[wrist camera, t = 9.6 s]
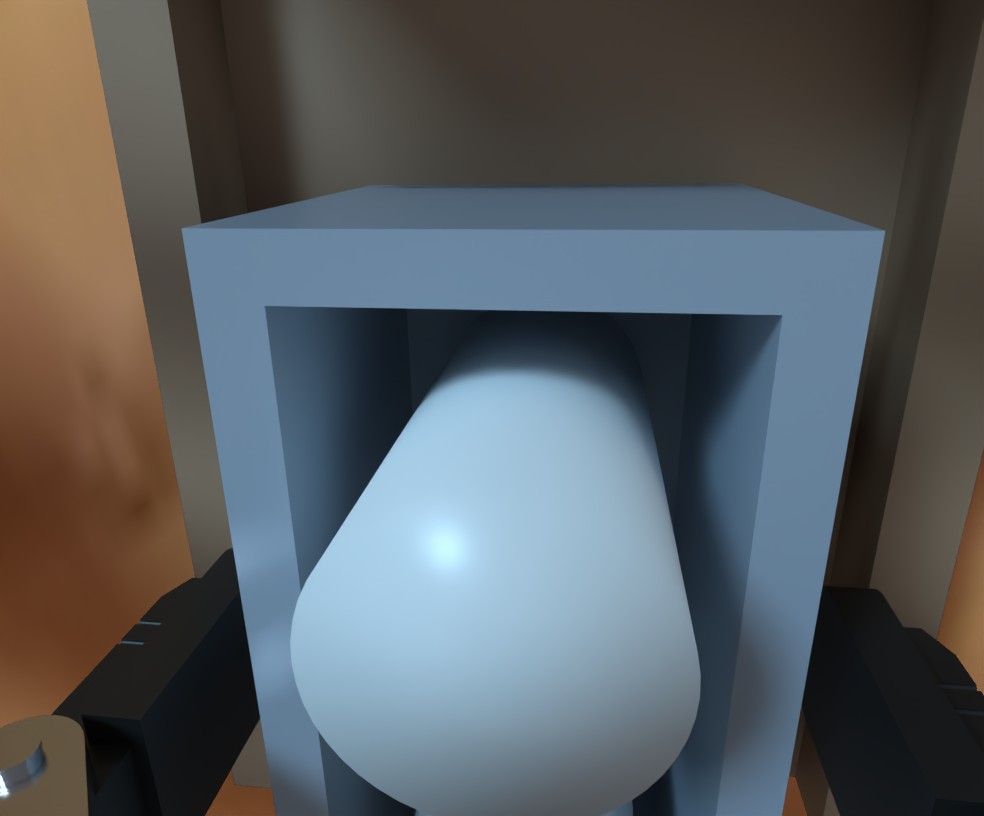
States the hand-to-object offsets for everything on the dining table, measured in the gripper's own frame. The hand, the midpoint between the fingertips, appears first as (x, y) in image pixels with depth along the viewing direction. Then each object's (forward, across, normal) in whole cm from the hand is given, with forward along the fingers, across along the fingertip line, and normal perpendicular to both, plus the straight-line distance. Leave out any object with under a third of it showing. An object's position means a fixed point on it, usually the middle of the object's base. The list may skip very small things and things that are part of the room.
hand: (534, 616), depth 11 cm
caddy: (+3, 0, 0) cm, 3 cm away
